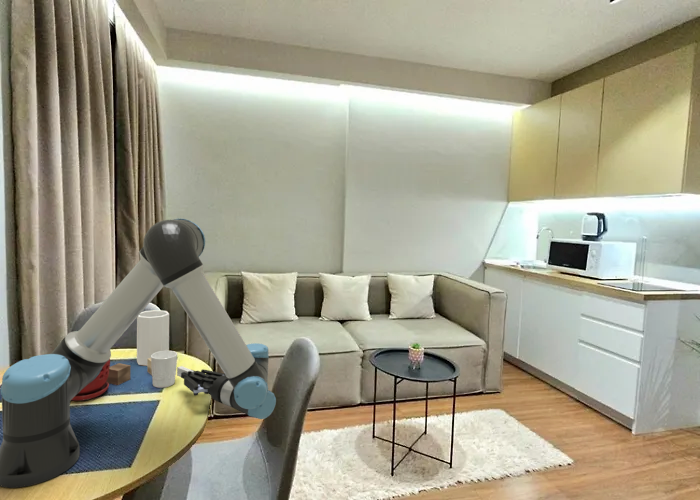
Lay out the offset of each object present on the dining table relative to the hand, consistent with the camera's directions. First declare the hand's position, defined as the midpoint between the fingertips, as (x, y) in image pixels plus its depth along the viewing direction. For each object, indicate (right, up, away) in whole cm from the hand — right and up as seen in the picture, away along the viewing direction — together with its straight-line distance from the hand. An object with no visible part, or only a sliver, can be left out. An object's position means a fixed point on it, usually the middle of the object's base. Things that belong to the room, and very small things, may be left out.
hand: (179, 370), depth 126 cm
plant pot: (-27, -6, -6) cm, 28 cm away
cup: (-20, -4, +23) cm, 31 cm away
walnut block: (-23, -5, +5) cm, 24 cm away
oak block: (-14, -5, +13) cm, 20 cm away
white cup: (-7, -6, +5) cm, 11 cm away
